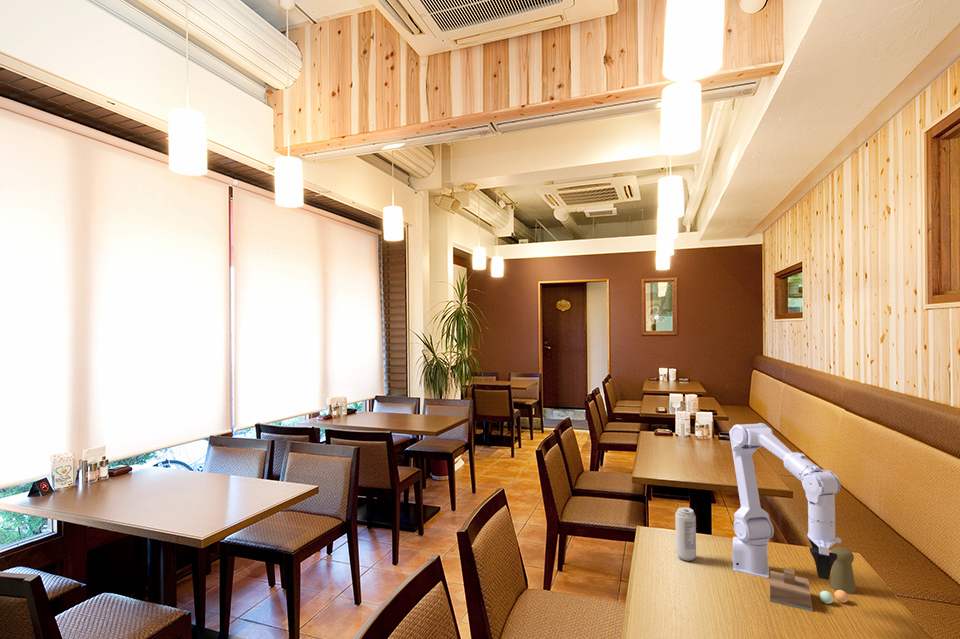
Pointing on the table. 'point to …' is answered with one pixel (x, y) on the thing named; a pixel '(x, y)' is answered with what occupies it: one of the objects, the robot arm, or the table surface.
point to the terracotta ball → (841, 596)
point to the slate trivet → (792, 604)
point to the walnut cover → (790, 588)
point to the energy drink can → (685, 533)
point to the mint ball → (826, 597)
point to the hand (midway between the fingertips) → (822, 571)
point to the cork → (843, 571)
